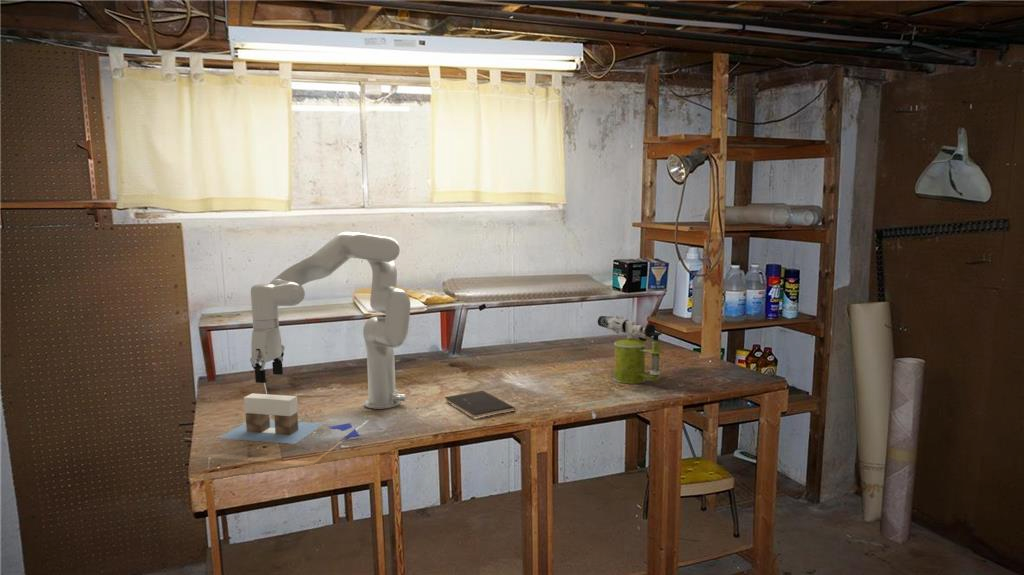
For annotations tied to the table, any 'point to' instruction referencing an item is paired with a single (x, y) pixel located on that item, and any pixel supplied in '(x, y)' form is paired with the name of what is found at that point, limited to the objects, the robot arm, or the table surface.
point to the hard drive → (343, 427)
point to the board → (272, 433)
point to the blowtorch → (632, 350)
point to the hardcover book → (479, 403)
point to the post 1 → (257, 422)
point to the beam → (271, 404)
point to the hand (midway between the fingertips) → (269, 378)
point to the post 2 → (286, 424)
